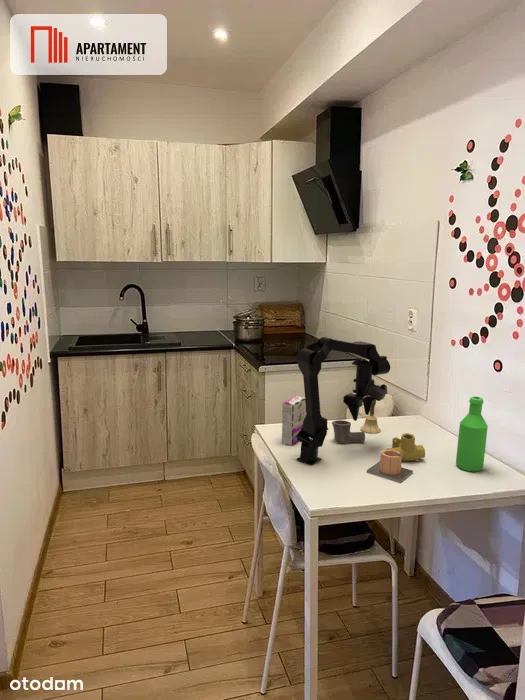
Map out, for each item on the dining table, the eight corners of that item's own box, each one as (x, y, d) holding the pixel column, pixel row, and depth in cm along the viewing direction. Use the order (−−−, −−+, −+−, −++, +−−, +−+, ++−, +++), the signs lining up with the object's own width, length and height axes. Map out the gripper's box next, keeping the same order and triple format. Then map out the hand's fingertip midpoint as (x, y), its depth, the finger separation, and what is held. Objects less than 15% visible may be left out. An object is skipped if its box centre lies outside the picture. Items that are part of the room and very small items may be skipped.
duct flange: (400, 483, 165) (401, 466, 164) (366, 472, 172) (367, 456, 171) (412, 472, 173) (414, 456, 171) (379, 463, 180) (381, 447, 179)
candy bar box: (294, 434, 205) (296, 395, 202) (305, 437, 202) (307, 397, 199) (280, 443, 196) (282, 401, 192) (292, 446, 193) (293, 404, 190)
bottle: (466, 473, 173) (473, 402, 168) (450, 463, 181) (457, 394, 176) (488, 471, 175) (496, 400, 170) (471, 461, 183) (479, 393, 179)
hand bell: (383, 429, 214) (386, 392, 211) (376, 435, 207) (379, 396, 204) (364, 425, 218) (366, 388, 215) (357, 430, 211) (359, 393, 208)
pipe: (365, 445, 196) (366, 425, 194) (331, 444, 196) (332, 424, 195) (362, 439, 202) (363, 420, 200) (329, 438, 202) (331, 419, 201)
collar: (376, 470, 172) (378, 451, 170) (385, 464, 177) (386, 446, 175) (395, 476, 168) (396, 456, 166) (403, 470, 173) (404, 450, 171)
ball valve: (425, 464, 182) (413, 449, 191) (427, 438, 178) (415, 425, 188) (390, 467, 180) (380, 453, 190) (392, 442, 177) (382, 428, 186)
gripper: (372, 385, 175) (369, 429, 178) (395, 375, 190) (392, 416, 193) (343, 379, 182) (341, 421, 185) (368, 370, 196) (365, 410, 200)
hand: (361, 417), depth 190 cm, fingers open, 9 cm apart
